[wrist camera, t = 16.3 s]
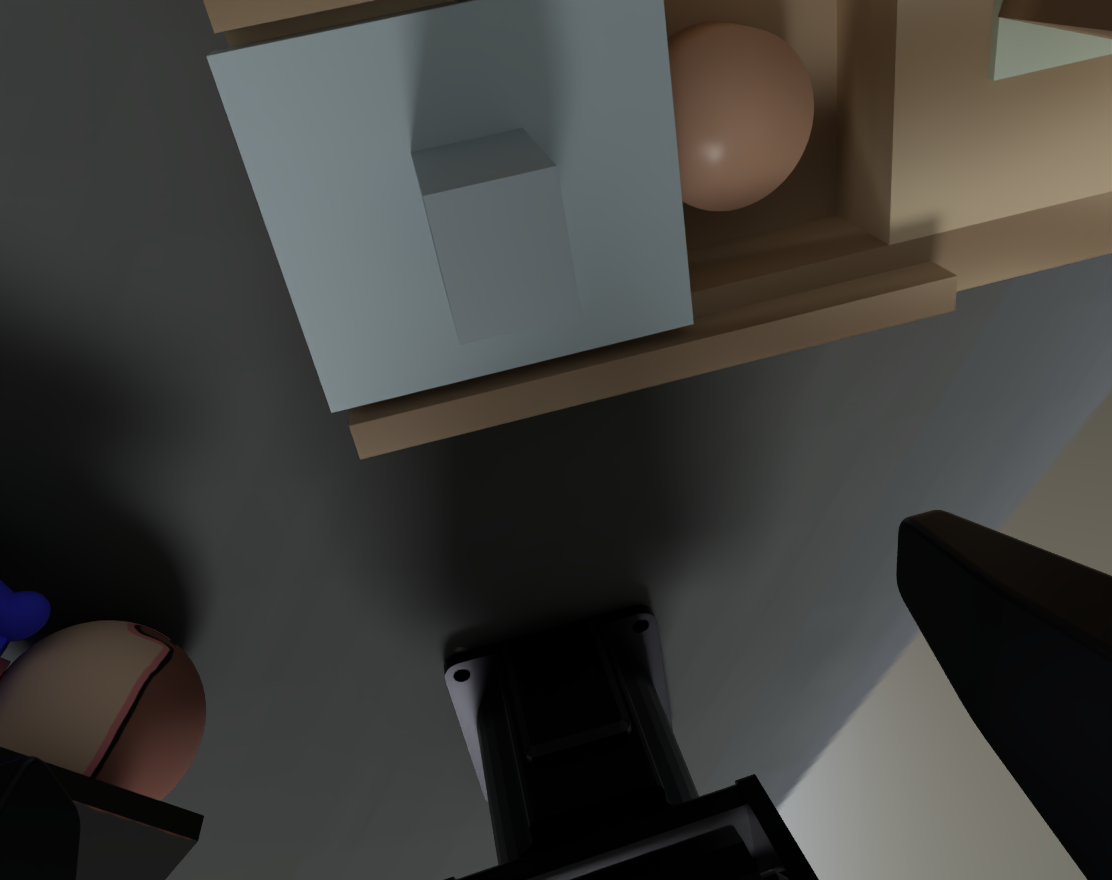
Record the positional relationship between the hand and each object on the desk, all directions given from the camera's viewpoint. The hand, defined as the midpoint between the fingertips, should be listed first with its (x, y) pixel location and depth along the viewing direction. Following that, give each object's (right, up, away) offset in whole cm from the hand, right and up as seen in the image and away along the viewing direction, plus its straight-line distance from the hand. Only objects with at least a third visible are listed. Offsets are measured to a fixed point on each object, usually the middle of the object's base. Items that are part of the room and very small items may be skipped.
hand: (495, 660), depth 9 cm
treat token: (+4, +9, +10) cm, 14 cm away
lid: (-1, +7, +8) cm, 10 cm away
